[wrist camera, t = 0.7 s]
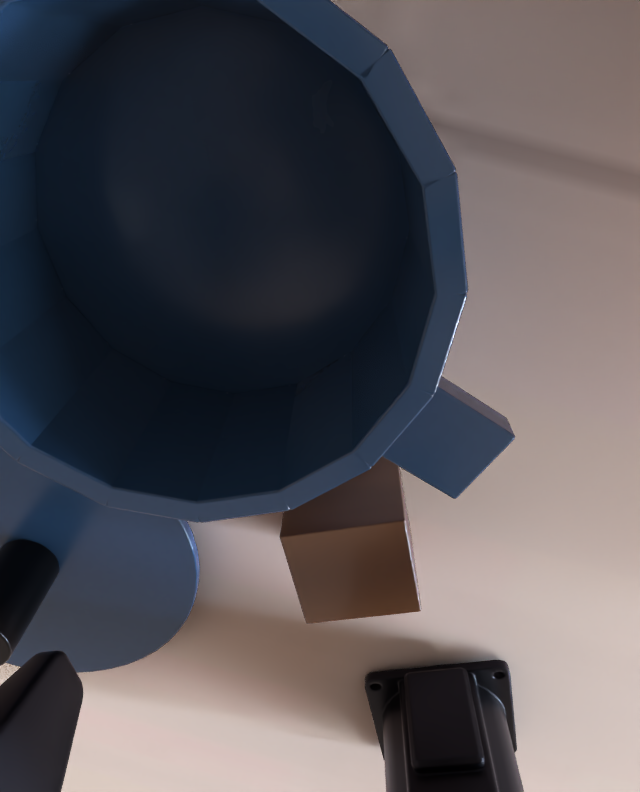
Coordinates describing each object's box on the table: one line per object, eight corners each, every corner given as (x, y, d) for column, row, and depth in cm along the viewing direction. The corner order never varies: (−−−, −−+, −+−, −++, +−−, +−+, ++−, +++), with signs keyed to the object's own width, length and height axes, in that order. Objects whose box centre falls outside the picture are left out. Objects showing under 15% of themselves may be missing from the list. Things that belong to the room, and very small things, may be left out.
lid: (122, 689, 29) (81, 801, 25) (-158, 570, 26) (-263, 673, 22) (263, 512, 24) (243, 614, 19) (-73, 333, 21) (-190, 406, 16)
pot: (348, 492, 23) (348, 628, 17) (-118, 231, 19) (-314, 298, 13) (585, 218, 18) (694, 285, 12) (16, -223, 14) (-214, -427, 8)
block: (410, 532, 24) (421, 611, 20) (312, 544, 24) (306, 624, 21) (396, 448, 22) (405, 520, 18) (289, 464, 23) (279, 536, 19)
